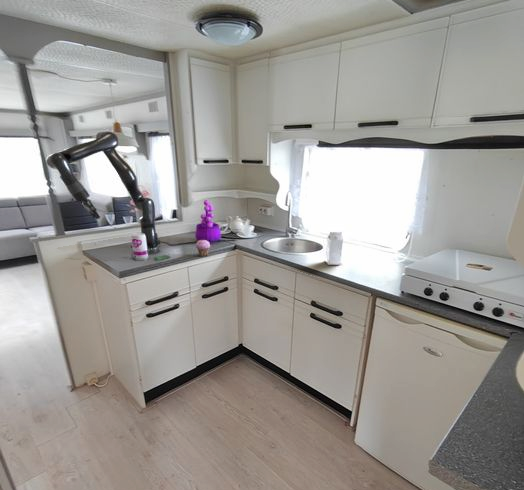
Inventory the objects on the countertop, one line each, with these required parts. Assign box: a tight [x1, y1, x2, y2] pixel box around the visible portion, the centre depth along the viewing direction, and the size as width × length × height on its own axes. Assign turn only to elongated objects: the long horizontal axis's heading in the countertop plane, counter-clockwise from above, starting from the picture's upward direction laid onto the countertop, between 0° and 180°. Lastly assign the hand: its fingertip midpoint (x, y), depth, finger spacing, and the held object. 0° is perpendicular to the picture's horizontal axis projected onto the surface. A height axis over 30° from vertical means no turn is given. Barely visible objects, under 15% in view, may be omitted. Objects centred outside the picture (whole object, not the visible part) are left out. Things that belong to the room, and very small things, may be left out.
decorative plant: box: [194, 199, 222, 244], centre depth 232 cm, size 19×19×30 cm
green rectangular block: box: [153, 254, 170, 261], centre depth 199 cm, size 8×4×1 cm, turn 136°
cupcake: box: [195, 240, 211, 257], centre depth 205 cm, size 9×9×10 cm
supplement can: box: [130, 232, 149, 261], centre depth 196 cm, size 8×8×15 cm
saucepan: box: [130, 244, 160, 255], centre depth 212 cm, size 19×11×4 cm, turn 76°
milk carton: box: [325, 231, 344, 266], centre depth 192 cm, size 7×7×19 cm
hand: (96, 217), depth 182 cm, fingers open, 8 cm apart
